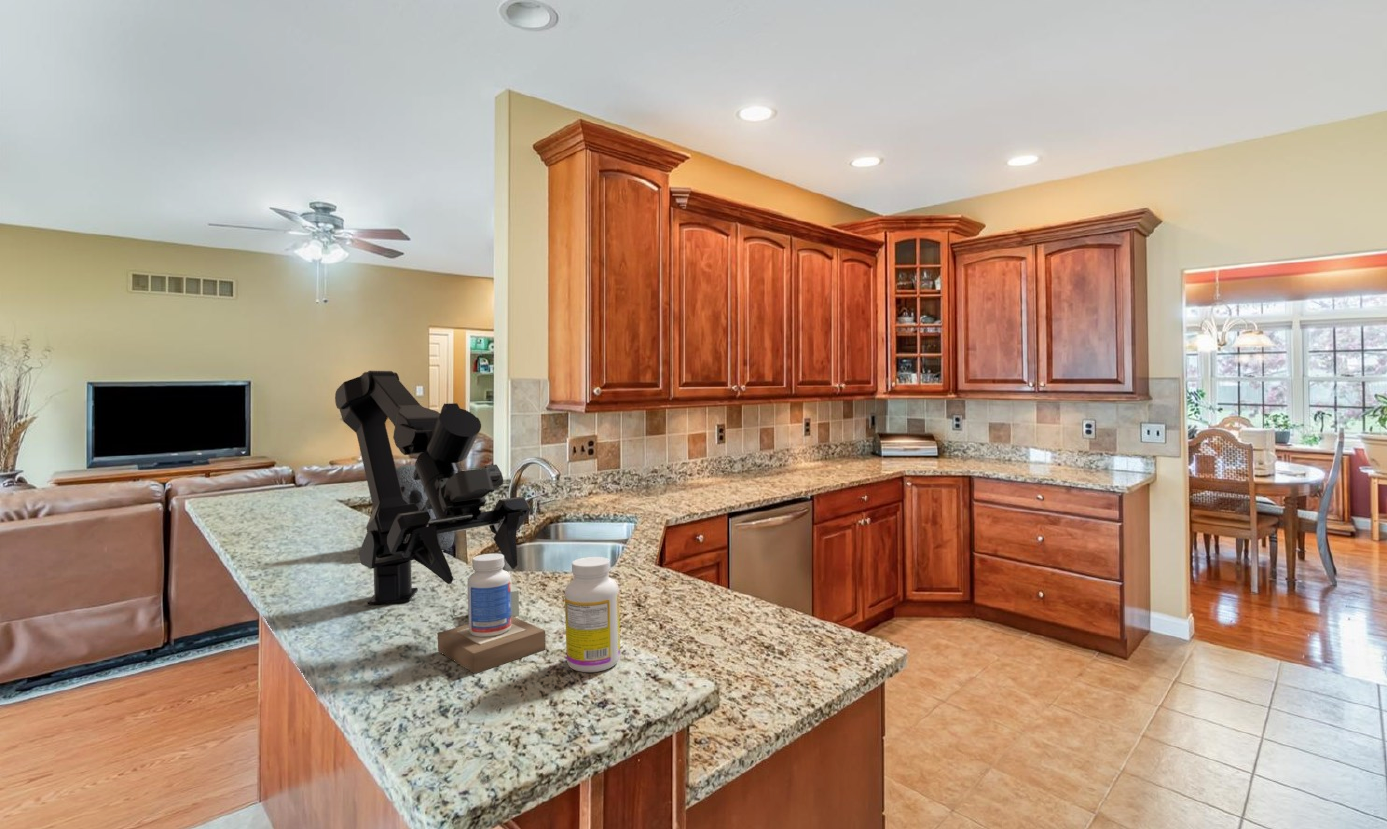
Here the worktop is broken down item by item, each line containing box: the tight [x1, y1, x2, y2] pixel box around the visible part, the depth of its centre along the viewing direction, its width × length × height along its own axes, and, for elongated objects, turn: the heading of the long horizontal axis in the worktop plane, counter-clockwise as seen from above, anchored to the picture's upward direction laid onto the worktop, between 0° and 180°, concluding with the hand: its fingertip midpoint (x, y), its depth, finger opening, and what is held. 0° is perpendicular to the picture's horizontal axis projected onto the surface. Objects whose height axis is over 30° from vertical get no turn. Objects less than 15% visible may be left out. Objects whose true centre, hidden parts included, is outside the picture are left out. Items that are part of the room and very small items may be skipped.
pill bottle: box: [467, 553, 511, 637], centre depth 84 cm, size 6×5×10 cm
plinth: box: [437, 616, 547, 674], centre depth 84 cm, size 10×10×3 cm
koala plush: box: [396, 464, 456, 551], centre depth 143 cm, size 17×18×20 cm
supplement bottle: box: [564, 556, 621, 673], centre depth 79 cm, size 7×7×13 cm
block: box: [510, 582, 520, 617], centre depth 98 cm, size 5×5×4 cm
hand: (484, 574), depth 85 cm, fingers open, 9 cm apart
